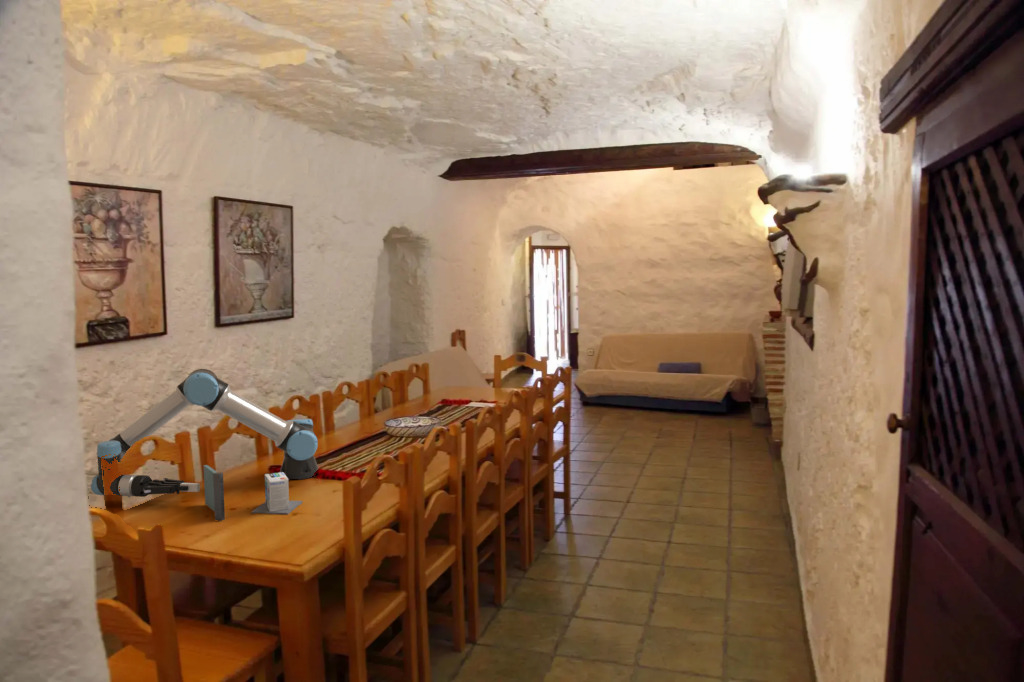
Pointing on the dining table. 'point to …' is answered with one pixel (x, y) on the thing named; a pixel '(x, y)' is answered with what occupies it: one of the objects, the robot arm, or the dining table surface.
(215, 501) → the gate post
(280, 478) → the light bulb box
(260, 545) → the dining table surface
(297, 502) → the rubber mat
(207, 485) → the gate
